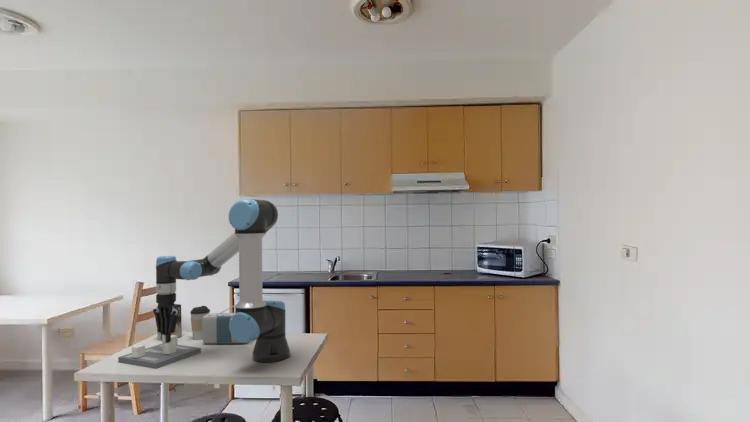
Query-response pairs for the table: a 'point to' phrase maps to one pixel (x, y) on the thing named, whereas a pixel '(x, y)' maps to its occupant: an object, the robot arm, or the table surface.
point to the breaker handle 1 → (138, 351)
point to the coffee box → (178, 325)
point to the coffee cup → (198, 321)
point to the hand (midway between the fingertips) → (166, 349)
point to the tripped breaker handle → (169, 347)
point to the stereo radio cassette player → (217, 328)
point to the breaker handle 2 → (174, 339)
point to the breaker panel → (159, 356)
